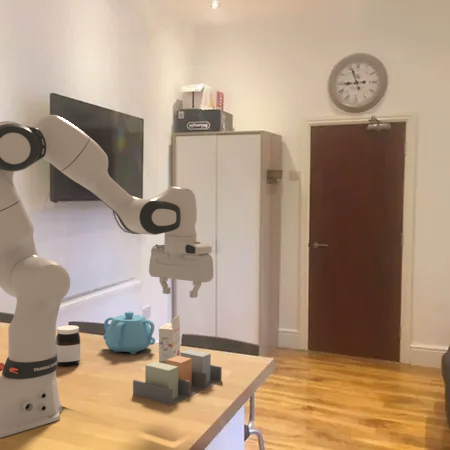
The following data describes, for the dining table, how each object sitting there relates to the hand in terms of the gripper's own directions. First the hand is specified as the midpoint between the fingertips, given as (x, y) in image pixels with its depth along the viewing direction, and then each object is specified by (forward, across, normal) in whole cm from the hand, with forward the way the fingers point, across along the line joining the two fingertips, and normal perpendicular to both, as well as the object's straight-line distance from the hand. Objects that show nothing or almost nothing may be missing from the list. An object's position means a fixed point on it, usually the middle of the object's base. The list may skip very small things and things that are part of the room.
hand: (179, 295), depth 150 cm
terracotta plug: (+26, 0, 0) cm, 26 cm away
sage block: (+26, 0, -8) cm, 27 cm away
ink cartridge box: (+27, -20, +21) cm, 40 cm away
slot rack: (+27, 0, 0) cm, 27 cm away
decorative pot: (+27, -40, +23) cm, 54 cm away
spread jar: (+27, -48, -1) cm, 55 cm away
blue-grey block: (+26, 0, +8) cm, 27 cm away
